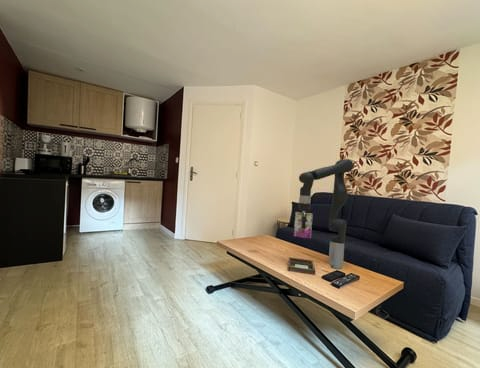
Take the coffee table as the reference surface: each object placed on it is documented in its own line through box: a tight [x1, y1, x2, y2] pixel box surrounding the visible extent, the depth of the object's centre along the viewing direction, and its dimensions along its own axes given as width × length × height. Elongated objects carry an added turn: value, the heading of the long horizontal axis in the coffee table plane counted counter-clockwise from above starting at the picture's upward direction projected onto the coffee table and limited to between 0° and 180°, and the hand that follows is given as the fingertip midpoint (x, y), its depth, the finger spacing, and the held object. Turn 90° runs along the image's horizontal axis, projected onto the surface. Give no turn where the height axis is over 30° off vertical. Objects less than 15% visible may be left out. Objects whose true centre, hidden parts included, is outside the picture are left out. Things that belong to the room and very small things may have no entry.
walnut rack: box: [287, 257, 316, 276], centre depth 149 cm, size 19×16×4 cm
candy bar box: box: [293, 211, 314, 240], centre depth 154 cm, size 11×5×16 cm, turn 68°
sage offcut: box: [294, 264, 309, 269], centre depth 145 cm, size 6×8×2 cm
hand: (303, 227), depth 154 cm, fingers closed on candy bar box, 5 cm apart
